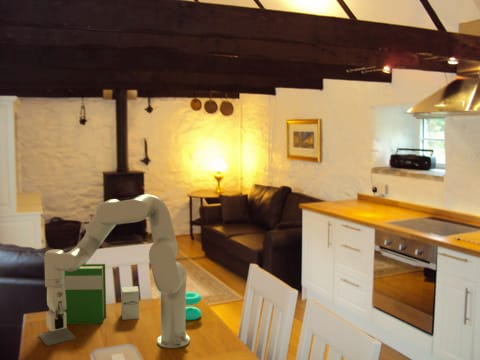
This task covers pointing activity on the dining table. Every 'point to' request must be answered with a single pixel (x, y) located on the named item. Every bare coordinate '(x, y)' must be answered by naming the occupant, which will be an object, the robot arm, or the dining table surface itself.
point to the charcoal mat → (56, 336)
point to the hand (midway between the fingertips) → (56, 325)
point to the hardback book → (86, 294)
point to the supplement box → (130, 302)
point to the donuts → (192, 299)
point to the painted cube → (53, 320)
